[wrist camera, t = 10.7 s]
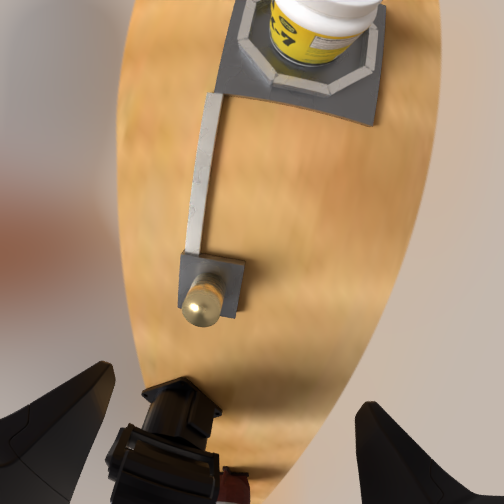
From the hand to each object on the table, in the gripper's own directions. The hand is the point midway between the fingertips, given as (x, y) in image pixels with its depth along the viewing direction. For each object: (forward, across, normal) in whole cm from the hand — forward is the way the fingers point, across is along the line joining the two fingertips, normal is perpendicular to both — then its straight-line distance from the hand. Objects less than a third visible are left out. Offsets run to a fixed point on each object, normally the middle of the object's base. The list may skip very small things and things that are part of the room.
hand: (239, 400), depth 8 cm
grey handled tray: (+12, -1, -8) cm, 14 cm away
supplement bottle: (+11, -1, -16) cm, 19 cm away
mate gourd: (+12, -3, +37) cm, 39 cm away
